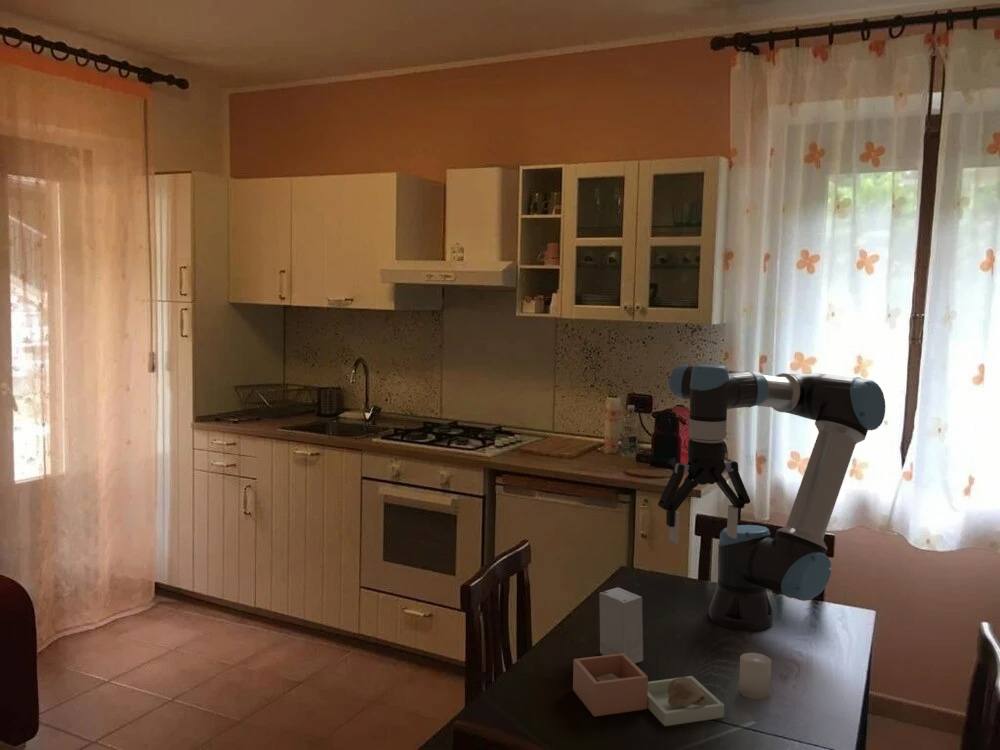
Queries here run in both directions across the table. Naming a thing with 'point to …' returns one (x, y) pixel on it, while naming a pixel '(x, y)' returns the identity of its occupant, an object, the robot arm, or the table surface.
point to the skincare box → (621, 624)
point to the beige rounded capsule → (754, 676)
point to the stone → (685, 693)
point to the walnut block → (606, 677)
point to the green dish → (681, 715)
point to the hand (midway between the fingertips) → (703, 539)
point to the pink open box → (610, 684)
